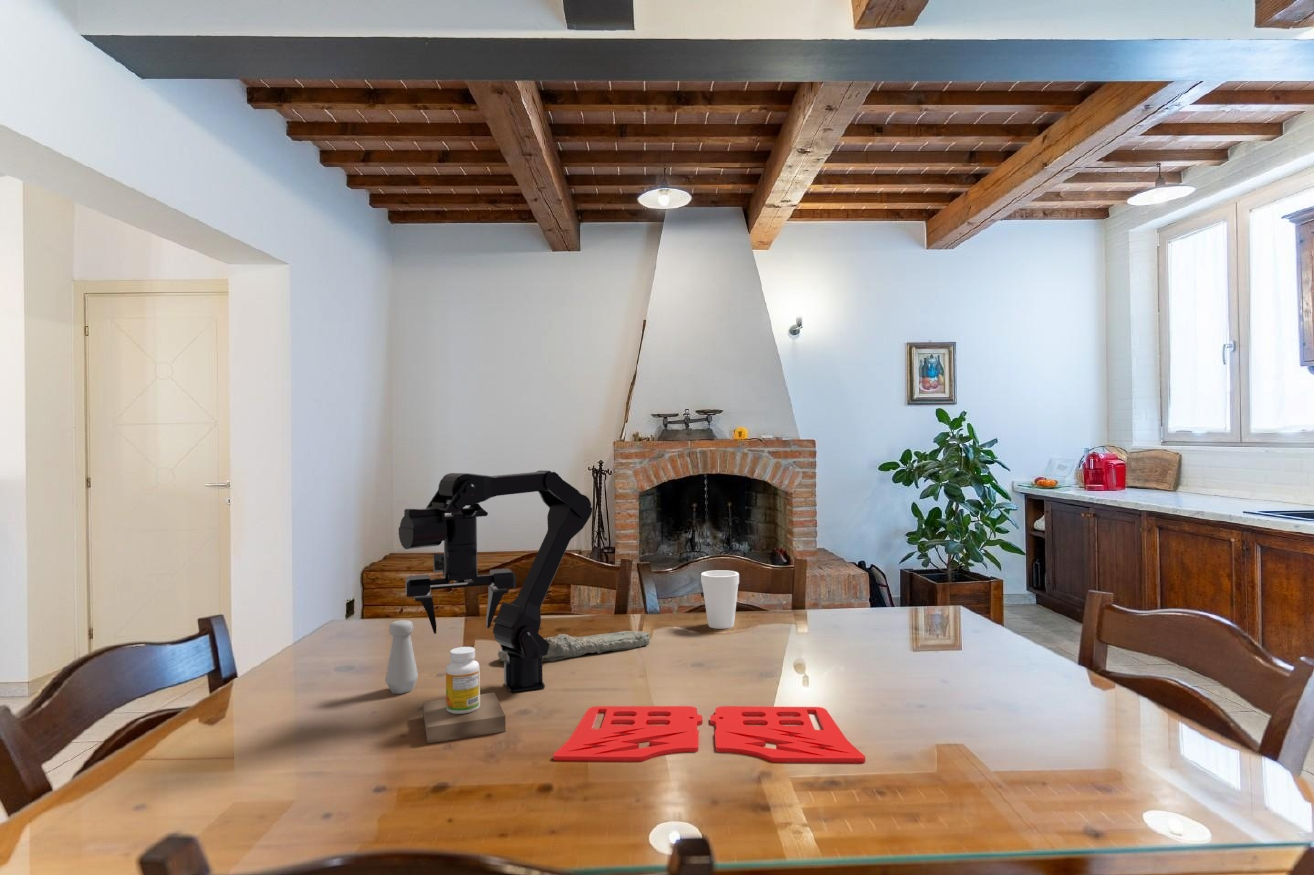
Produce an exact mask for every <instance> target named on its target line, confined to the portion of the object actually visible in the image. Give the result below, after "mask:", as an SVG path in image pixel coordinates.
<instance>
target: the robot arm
mask: <svg viewBox="0 0 1314 875" xmlns="http://www.w3.org/2000/svg"><path fill="white" fill-rule="evenodd" d="M535 492H538V494H539V496H540V498H541V500H542V502H543V503H544V504H545V505H546V506H547V508H549V510H548V513H547V517H546V518H547V532H546V534H545V536H544V538H543V540H542V542H541V544H540V546H539V549H538V551H537V553H536V556H535V558H534V560H533V561H532V564H531V566H530V569H529V571H528V573H527V575H526V577H525V579H524V582H523V584H522V586H521V589H520V590H519V593H518V595H517V596H516V598H514V600H513V601H511V602H510V603H508V602H505V601H504V602H502V603H501V605H500V608H499V610H498V613H497V615H496V616H495V614H496V611H497V608H498V606H499V604H500V602H501V600H502V598H503V597H504V595H506V594H509V592H510V591H509V589H515V588H517V575H516V574H515V573H514V572H513V571H512V570H511V569H510V568H497V569H490V570H489V574H481V575H479V574H478V532H477V531H478V525H477V522H478V520H477V518H478V517H487V516H488V514H489V512H487V511H486V510H485V509H484V508H483V507H482V506H481V505H480V503H483V502H486V501H487V500H490V499H491V498H494V497H498V496H507V495H515V494H517V495H518V494H524V493H525V494H526V493H527V494H528V493H535ZM467 506H468V507H467ZM403 510H404V512H403V513H404V515H403V517H402V518H401V520H400V523H399V524H400V525H399V527H398V539H399V542H400V544H401V546H402V547H403V549H405V550H410V549H412V550H413V549H420V548H421V549H422V548H429V547H437V546H440V545H441V544H442V542H443V553H435V554H433V557H432V558H433V560H432V561H433V573H442V578H441V577H440V578H430V575H429V574H418V575H415V574H414V575H408V576H407V577H406V579H405V594H406V597H407V598H413V599H414V601H415V602H421V605H422V606H423V608H424V610H425V613H426V614H427V618H428V621H429V622H430V623H429V624H430V626H431V629H432V631H433V634H435V635H436V634H437V622H436V613H435V608H434V607H435V606H434V605H435V604H434V601H433V596H432V593H431V592H432V590H433V591H434V590H442V589H443V590H444V589H446V590H447V589H457V588H469V587H471V588H472V587H481V586H488V587H487V588H488V590H487V591H488V594H487V595H488V596H487V597H488V598H487V605H486V606H487V608H486V620H485V621H486V622H485V623H486V628H487V629H490V627H491V625H492V622H493V623H494V625H493V628H492V633H493V636H494V640H495V641H496V642H497V644H499V646H500V649H501V648H502V651H504V652H508V653H507V661H505V662H503V679H504V680H503V683H504V685H505V686H506V687H507V688H508V691H509V692H510V693H516V692H524V691H531V690H539V689H544V688H546V684H545V683H544V682H543V679H544V678H543V662H542V656H545V655H547V652H548V649H549V643H548V642H547V641H546V640H545V639H544V638H545V637H543V636H542V635H541V634H540V633H539V631H540V629H541V624H542V614H541V613H542V610H541V608H542V605H543V602H544V600H545V599H546V596H547V593H548V592H549V590H550V586H552V585H551V584H552V582H553V580H554V577H555V575H556V574H557V571H558V568H559V567H560V564H561V561H562V559H563V558H564V555H565V553H566V551H567V548H568V546H569V544H570V541H571V540H572V539H574V537H575V536H577V534H579V533H580V532H581V531H582V530H583V529H584V527H585V526H586V524H587V523H588V522H589V519H590V518H591V516H592V513H593V506H592V502H591V500H590V499H589V497H588V496H587V495H585V494H582V493H581V492H580V491H579V490H578V489H577V488H575V487H574V486H573V485H572V484H570V483H569V482H567V481H565V480H564V479H563V478H562V477H561V476H560V474H559V473H557V472H555V471H554V470H537V471H533V472H532V471H531V472H522V473H512V474H511V473H509V474H499V475H487V474H486V475H484V474H475V473H465V472H464V473H463V472H462V473H461V472H450V473H446V474H445V475H444V476H443V477H442V478H441V479H440V481H439V483H438V489H437V491H436V493H435V494H434V496H433V497H432V499H431V500H430V501H429V502H428V505H426V508H405V509H403ZM453 581H454V582H453ZM494 617H495V618H494Z"/></svg>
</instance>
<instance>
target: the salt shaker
mask: <svg viewBox="0 0 1314 875" xmlns="http://www.w3.org/2000/svg"><path fill="white" fill-rule="evenodd" d="M388 630H389V631H388V632H389V635H390V636H392V638H391V639H392V640H391V646H390V651H389V658H388V663H387V671H386V675H385V680H384V681H385V684H386V685H387V687H388V688H389V691H390V692H391V694H393V695H394V694H398V695H401V694H406V693H410V692H412V691H413V690H414V689H415V685H416V683H417V681H418V676H419V674H418V668H417V667H418V666H417V662H416V658H415V653H414V648H413V642H412V638H411V637H412V636H411V634H412V633H413V631H414V624H413V622H412V621H411V620H407V619H400V620H395V621H393V622H391V623H390V624H389V628H388Z"/></svg>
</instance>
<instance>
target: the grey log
mask: <svg viewBox="0 0 1314 875" xmlns="http://www.w3.org/2000/svg"><path fill="white" fill-rule="evenodd" d="M543 638H544V639H545V640H546V641H547V642H548V643H549V649H548V652H547V655H545V656H542V663H543V662H551V663H553V662H555V661H562V660H564V659H572V658H578V657H581V656H583V655H585V654H595V653H596V654H601V653H605V652H610V651H611V652H612V651H617V652H618V651H619V652H620V651H624V650H633V649H636V648H641V647H644V646H648V645H649V644H650V643H651V642H650V639H651V638H650V632H649V631H643V630H642V631H641V630H640V631H639V630H633V631H632V630H631V631H630V630H623V631H617V632H608V633H598V634H590V635H586V636H584V635H583V636H571V635H569V634H566V633H558V634H557V635H555V636H550V637H549V636H547V637H543ZM507 653H508V652H504V651H502V648H501V647H500V649H499V650H498V652H497V655H498V656H497V657H498V659H499V661H501V662H503V663H504V662H505V661H507Z"/></svg>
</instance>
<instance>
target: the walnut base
mask: <svg viewBox="0 0 1314 875" xmlns="http://www.w3.org/2000/svg"><path fill="white" fill-rule="evenodd" d="M422 718H423V725H424V731H425V737H426V743H427V744H435V743H441V742H446V741H453V740H458V739H459V740H460V739H467V738H472V737H479V736H485V735H486V736H487V735H491V734H498V733H505V732H506V731H507V729H506V728H507V726H506V725H507V724H506V714H505V712H504V710H503V708H502V706H501V703H500V701H499V699H498V696H497V695H496V693H495V692H489V693H482V694H481V693H480V707H479V708H478V709H477V710H475V711H473V712H470V713H465V714H453V713H450V712H448V711H447V708H446V698H444V699H437V700H430V701H428V700H427V701H422Z"/></svg>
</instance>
